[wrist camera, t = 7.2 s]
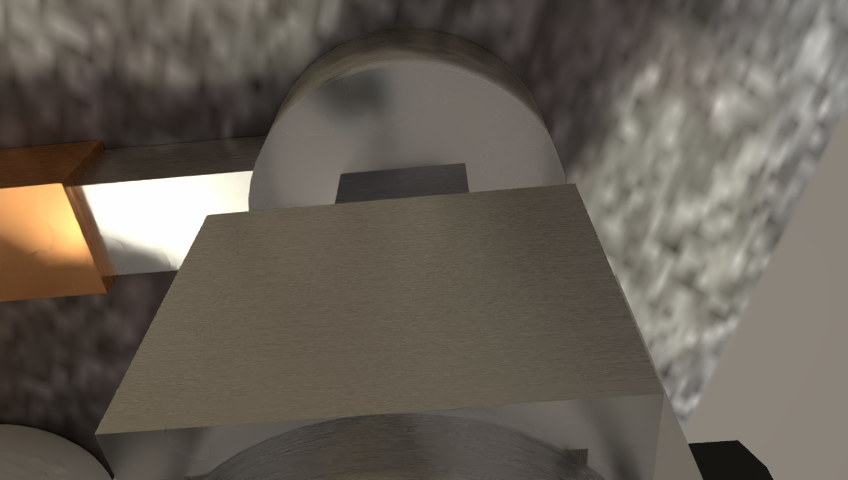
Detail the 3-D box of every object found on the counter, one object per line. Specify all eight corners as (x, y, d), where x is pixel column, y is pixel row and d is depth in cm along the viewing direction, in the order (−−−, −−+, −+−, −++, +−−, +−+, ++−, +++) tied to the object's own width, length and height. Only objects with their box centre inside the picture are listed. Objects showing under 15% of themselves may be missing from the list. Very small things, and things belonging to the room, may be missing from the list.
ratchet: (-257, 90, 19) (-511, 199, 13) (550, 14, 18) (604, 99, 13) (-108, 323, 23) (-258, 472, 18) (548, 270, 22) (588, 412, 17)
